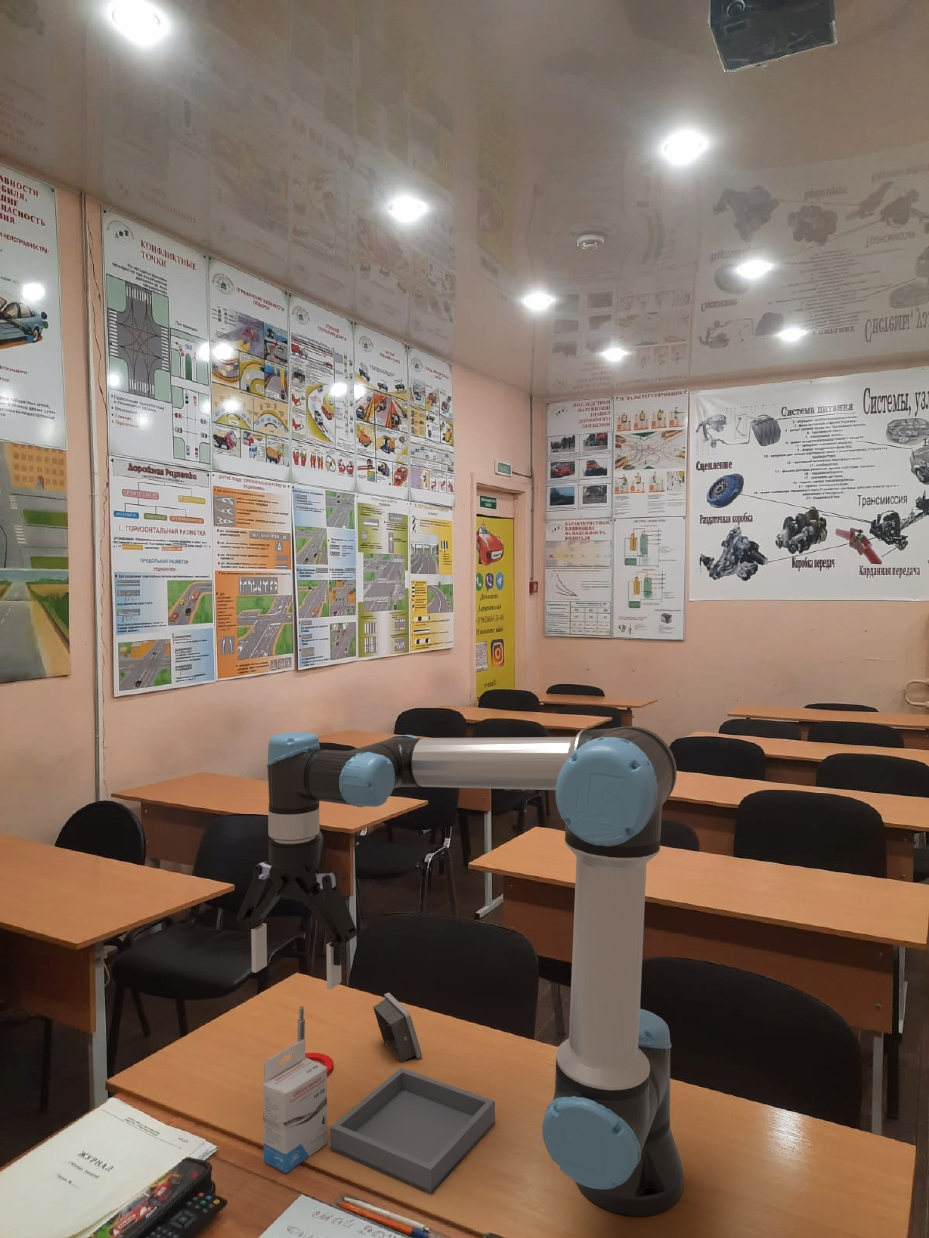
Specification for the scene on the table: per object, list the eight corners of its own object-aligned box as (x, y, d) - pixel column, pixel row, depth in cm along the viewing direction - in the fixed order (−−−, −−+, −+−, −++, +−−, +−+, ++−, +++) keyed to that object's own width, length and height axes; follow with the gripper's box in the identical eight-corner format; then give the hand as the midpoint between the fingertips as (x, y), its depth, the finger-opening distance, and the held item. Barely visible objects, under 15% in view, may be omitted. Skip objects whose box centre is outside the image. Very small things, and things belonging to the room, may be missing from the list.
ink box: (285, 1175, 117) (284, 1073, 116) (262, 1162, 119) (261, 1062, 119) (328, 1143, 123) (327, 1046, 123) (306, 1131, 126) (305, 1036, 126)
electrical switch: (423, 1059, 146) (418, 1008, 146) (397, 1070, 144) (392, 1019, 143) (400, 1035, 154) (395, 987, 154) (375, 1045, 152) (370, 997, 151)
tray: (494, 1122, 128) (494, 1100, 128) (431, 1194, 113) (431, 1169, 113) (401, 1088, 137) (400, 1067, 137) (330, 1149, 122) (330, 1126, 122)
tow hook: (294, 1056, 148) (275, 1084, 139) (295, 984, 148) (276, 1007, 139) (339, 1060, 147) (322, 1088, 137) (340, 988, 147) (323, 1011, 138)
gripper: (379, 839, 121) (380, 981, 122) (244, 821, 131) (245, 952, 132) (352, 853, 114) (353, 1003, 115) (211, 833, 125) (213, 972, 125)
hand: (296, 976), depth 123 cm, fingers open, 13 cm apart
